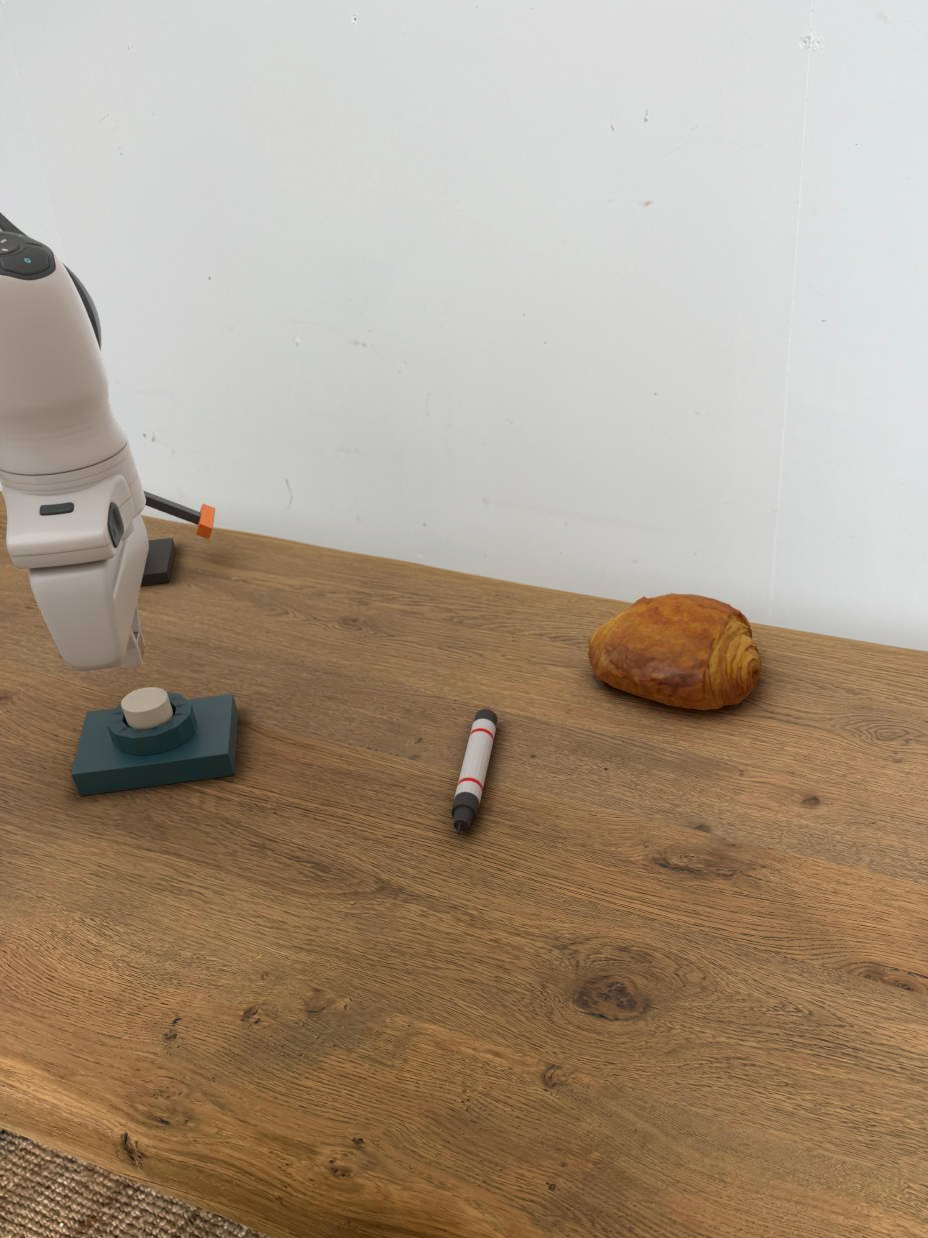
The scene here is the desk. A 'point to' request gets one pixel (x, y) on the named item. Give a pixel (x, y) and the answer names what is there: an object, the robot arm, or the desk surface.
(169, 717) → the power button
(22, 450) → the robot arm
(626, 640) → the croissant
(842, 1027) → the desk surface
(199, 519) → the lever switch
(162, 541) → the pivot lever stand
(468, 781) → the marker
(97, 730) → the block
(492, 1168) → the desk surface
